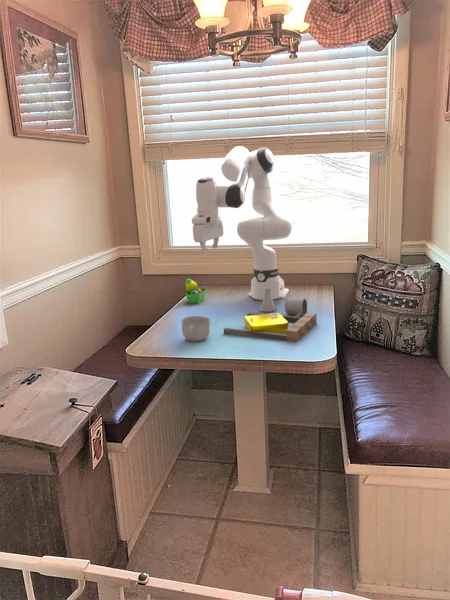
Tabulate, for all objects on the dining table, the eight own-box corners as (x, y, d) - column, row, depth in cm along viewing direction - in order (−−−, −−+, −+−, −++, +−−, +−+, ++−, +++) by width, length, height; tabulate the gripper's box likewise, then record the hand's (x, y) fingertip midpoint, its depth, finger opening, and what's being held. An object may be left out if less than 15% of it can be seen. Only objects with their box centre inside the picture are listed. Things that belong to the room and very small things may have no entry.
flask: (275, 312, 225) (275, 290, 223) (259, 312, 227) (258, 290, 224) (277, 308, 232) (276, 286, 230) (261, 308, 234) (260, 286, 231)
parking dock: (248, 316, 221) (248, 308, 220) (316, 323, 207) (316, 313, 206) (223, 333, 201) (223, 324, 200) (296, 342, 187) (296, 331, 186)
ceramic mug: (289, 312, 224) (289, 295, 222) (307, 313, 221) (307, 296, 219) (281, 319, 215) (281, 302, 213) (300, 321, 212) (300, 303, 210)
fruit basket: (200, 304, 246) (198, 281, 243) (183, 303, 248) (181, 281, 245) (207, 298, 257) (206, 276, 254) (190, 297, 259) (189, 276, 256)
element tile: (243, 325, 210) (243, 314, 209) (279, 322, 213) (279, 311, 211) (251, 337, 196) (251, 325, 195) (289, 333, 198) (289, 321, 197)
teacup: (190, 333, 203) (188, 314, 201) (215, 335, 199) (214, 315, 197) (174, 345, 191) (172, 324, 189) (200, 347, 187) (199, 326, 185)
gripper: (213, 214, 226) (215, 245, 229) (189, 220, 208) (191, 253, 212) (225, 214, 223) (227, 246, 227) (202, 220, 206) (205, 254, 209)
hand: (210, 249), depth 219 cm, fingers open, 8 cm apart
